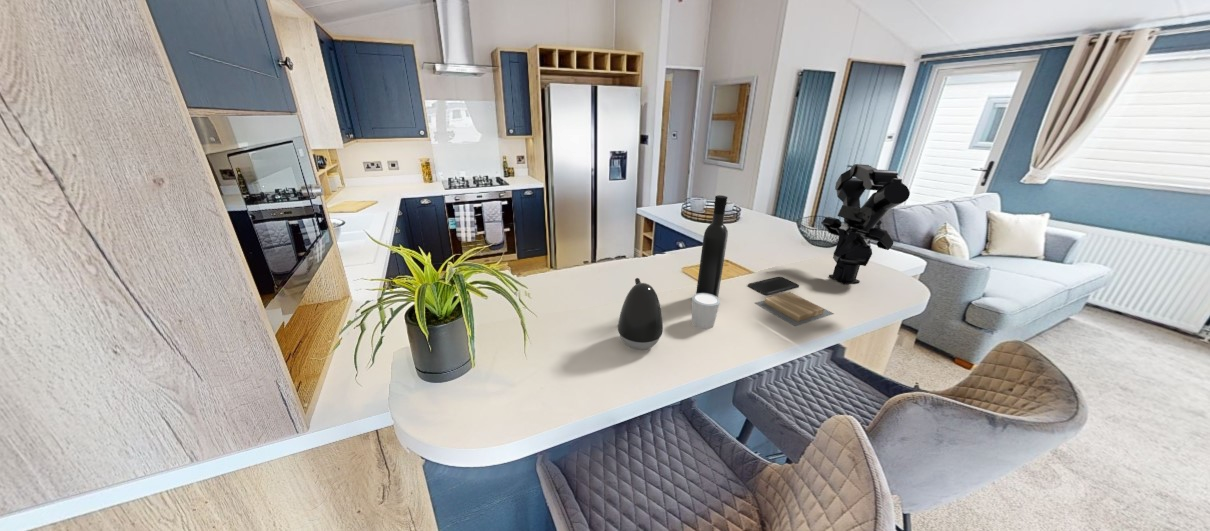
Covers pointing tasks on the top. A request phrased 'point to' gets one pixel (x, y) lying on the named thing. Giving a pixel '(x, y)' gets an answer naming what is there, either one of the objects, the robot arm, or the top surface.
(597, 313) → the top surface
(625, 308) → the black egg shape
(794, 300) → the oak block
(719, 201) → the wine bottle
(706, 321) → the white short tapered cylinder
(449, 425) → the top surface
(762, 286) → the phone
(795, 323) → the charcoal mat
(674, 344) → the top surface
